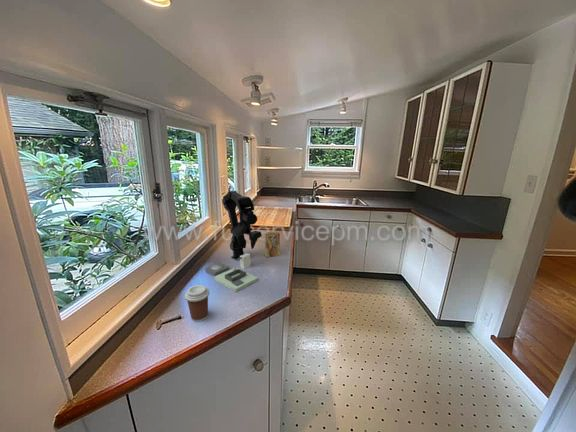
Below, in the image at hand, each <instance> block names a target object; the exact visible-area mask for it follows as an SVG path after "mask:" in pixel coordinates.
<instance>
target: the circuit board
mask: <svg viewBox="0 0 576 432" xmlns="http://www.w3.org/2000/svg"><path fill="white" fill-rule="evenodd" d="M213 280H214V281H216V282H217V283H219V284H221V285H223V286H225V287H226V288H229V290H231V291H234V292H238V291H240V290H243V289H244V288H246V287H248V286H250V285H252V284H254V283H256V282H257V281H259V278H258V277H257V276H256V275H253V274H251V273H249V272H248V271H244V270H243V269H242V268H238V267H236V266H234V267H232V268H231V269H229V270H228V271H226V272H224V273H221V274H219V275H217V276H213Z"/></svg>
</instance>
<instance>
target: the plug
mask: <svg viewBox="0 0 576 432" xmlns="http://www.w3.org/2000/svg"><path fill="white" fill-rule="evenodd" d="M236 261H239V264H240V269H242V270H243V269H244V270H245V269H247V268H249V267H251V266H252V265H251V264H252V263H251V261H252V260H251V254H250V253H247V252H246V253H244V255H241V256H240V258H238V259H237V260H236Z"/></svg>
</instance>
